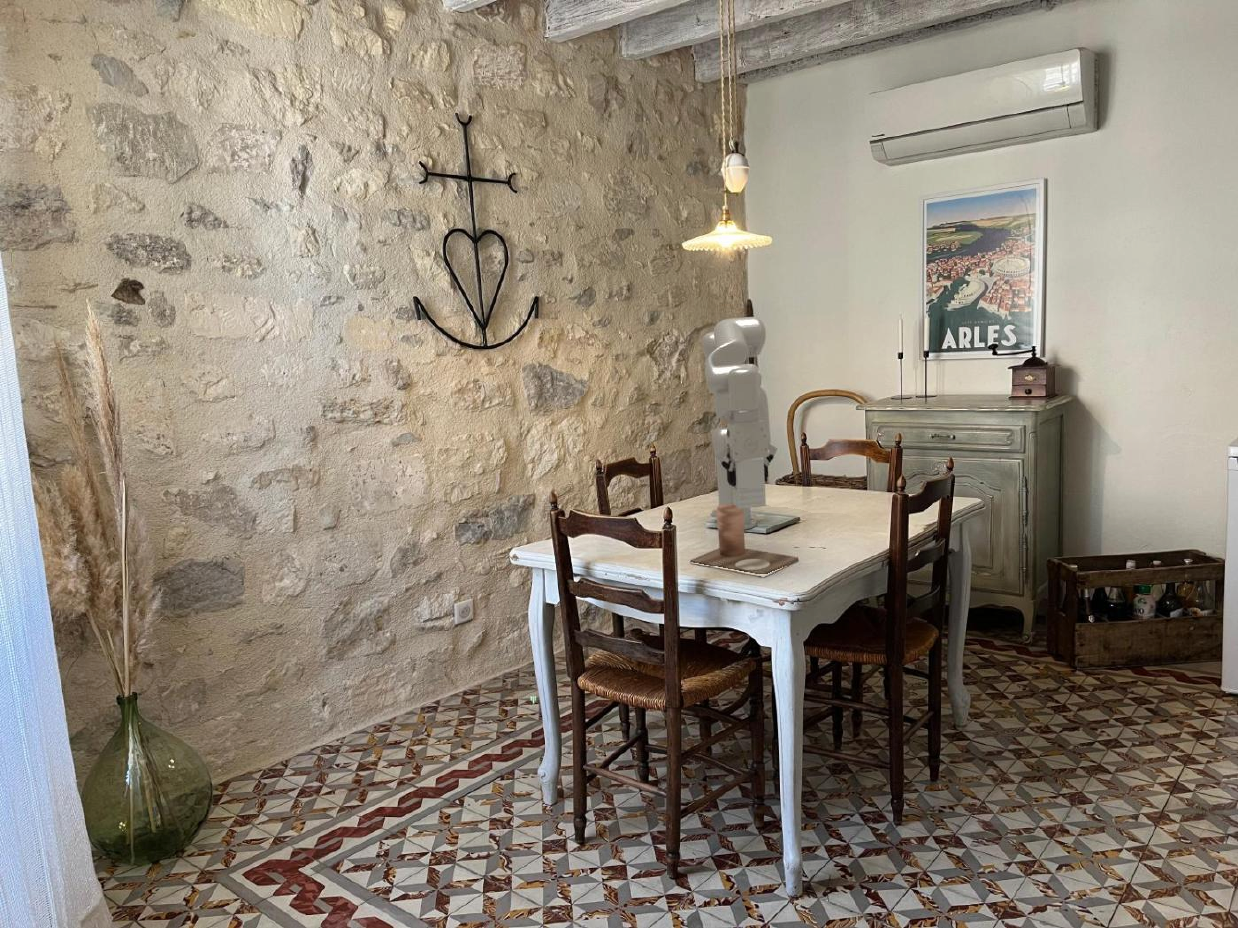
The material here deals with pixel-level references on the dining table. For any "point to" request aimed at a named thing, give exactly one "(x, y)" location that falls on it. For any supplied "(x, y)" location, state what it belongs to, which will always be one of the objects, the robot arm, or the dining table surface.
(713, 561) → the board
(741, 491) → the supplement box
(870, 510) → the dining table surface
